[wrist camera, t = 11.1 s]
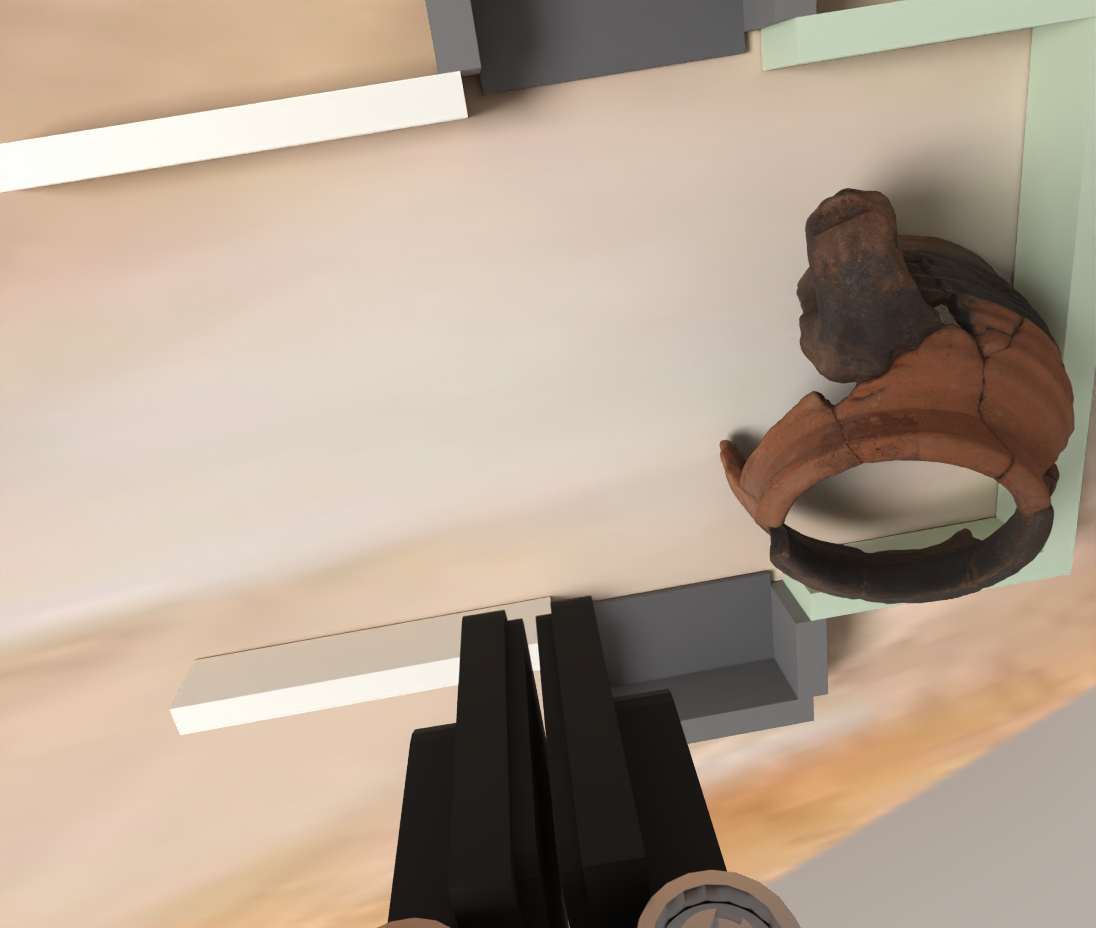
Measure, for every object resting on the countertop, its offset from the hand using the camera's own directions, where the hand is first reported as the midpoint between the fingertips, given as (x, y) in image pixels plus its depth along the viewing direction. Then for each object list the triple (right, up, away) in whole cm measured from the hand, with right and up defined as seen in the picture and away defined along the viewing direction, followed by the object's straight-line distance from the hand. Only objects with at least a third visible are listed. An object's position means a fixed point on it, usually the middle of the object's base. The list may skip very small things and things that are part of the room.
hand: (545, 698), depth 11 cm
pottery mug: (+9, +6, +15) cm, 19 cm away
